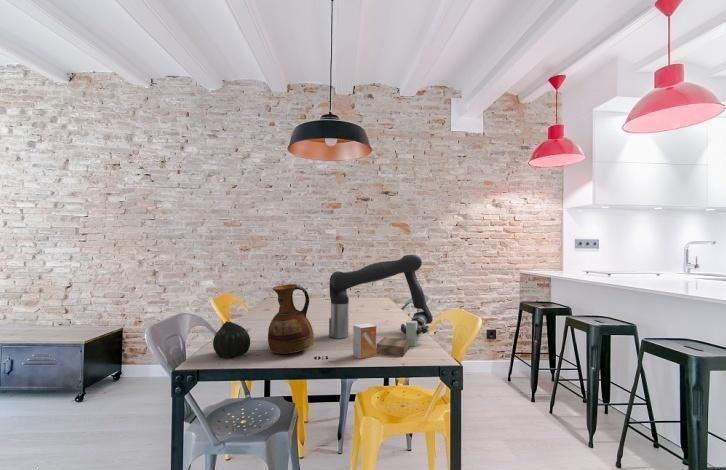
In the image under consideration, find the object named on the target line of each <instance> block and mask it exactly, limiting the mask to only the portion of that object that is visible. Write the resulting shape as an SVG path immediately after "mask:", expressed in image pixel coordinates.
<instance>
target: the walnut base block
mask: <svg viewBox="0 0 726 470" xmlns="http://www.w3.org/2000/svg"><path fill="white" fill-rule="evenodd" d="M409 349H410V346H409V340H407V339H406V338H397V337H396V338H395V337H382V339H380V340H379V341H378V342H376V354H380V355H381V354H382V355H392V356H399V357H404V356H405V355H406V353H407V352H408V350H409Z"/></svg>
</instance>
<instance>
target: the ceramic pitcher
mask: <svg viewBox="0 0 726 470" xmlns="http://www.w3.org/2000/svg"><path fill="white" fill-rule="evenodd" d="M272 290H273V291H274V292H275V293H276V294H277V302H278V304H279V308H278V312H277V313H276V314H275V315H274V316H273V318H272V319H271V321H270V323H269V327H268V332H267V342H268V348H269V350H270V351H271V352H273V353H276V354H281V355H282V354H283V355H287V354H294V353H298V352H302V351H304V350H306V349H308V348H310V347H312V346H313V345H314V342H315V333H314V330H313V326H312V324H311V323H310V321H309V319H308V317H307V313H308V309H309V305H310V296H309V293H308V291H307V290H306V289H305V287H303V286H301V285H300V284H296V283H290V284H288V283H287V284H282V285H277V286H273V287H272ZM295 290H300V291H302V293H303V294H304V297H305V301H304V306H303V308H302V309H301V310H298V309H297V308H296V306H295V304H294V299H293V298H294V297H293V296H294V292H295Z"/></svg>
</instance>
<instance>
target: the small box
mask: <svg viewBox="0 0 726 470" xmlns="http://www.w3.org/2000/svg"><path fill="white" fill-rule="evenodd" d="M352 327H353V328H352V331H353V334H352V336H353V337H352V340H353V342H352V344H353V345H352V355H353V356H354V357H356V358H358V359H361V360H362V359H366V358H372V357H376V356H377V325H374V324H372V323H361V324H353V326H352Z"/></svg>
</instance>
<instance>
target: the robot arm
mask: <svg viewBox="0 0 726 470" xmlns="http://www.w3.org/2000/svg"><path fill="white" fill-rule="evenodd" d="M422 263H423V262H422V259H421V257H420V256H418V255H417V254H406V255H403V256H402V257H401V258H400V259H397V260H395V259H394V260H386V261H379V262H374V263H372V264H369V265H366V266H363V267H362V268H360V269H358V270H353V271H347V272H343V271H339V270H338V271H335V272H333V273H331V275H330V278H329V298H330V317H329V318H328V319H329V320H328V338H333V339H346V338H349V333H350V332H349V329H350V328H349V326H350V325H349V320H350V319H349V317H350V316H349V315H350V313H349V312H350V308H349V302H350V300H349V296H348V292H347V291H348V289H351V288H353V287H356V286H359V285H362V284H368V283H373V282H378V281H381V280H384V279H388V278H391V277H393V276H397V275H399V274H403V275H404V277H405V280H406V282H407V285H408V288H409V291H410V295H411V296H410V297H411V300H412V305H413V307H414V309H417V310H418V309H420V310H422V311H418V312H417V311H416V312H414V314H413V317H412V319H411V320H410V321H417V336H419V335H420V334H426V333H428V332H429V325H428V324H432V322H433V319H434V318H433V317H434V316H433V314H432V313H431V311H430V309H429V306H428V305H427V301H426V298H425V293H424V290H423V288H422V285H421V284H420V283H419V280H418V278H417V275H416V271H418V270H419V269H421V267H422V265H423V264H422ZM400 332H401V333H403V334H404V335H406V324H404V323H401V325H400Z"/></svg>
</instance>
